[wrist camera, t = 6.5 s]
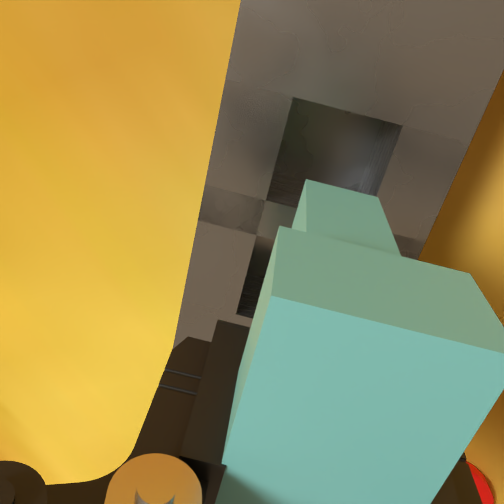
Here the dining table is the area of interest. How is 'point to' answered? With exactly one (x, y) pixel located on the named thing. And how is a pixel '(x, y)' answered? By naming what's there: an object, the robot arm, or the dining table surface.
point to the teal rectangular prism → (357, 366)
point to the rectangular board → (335, 128)
